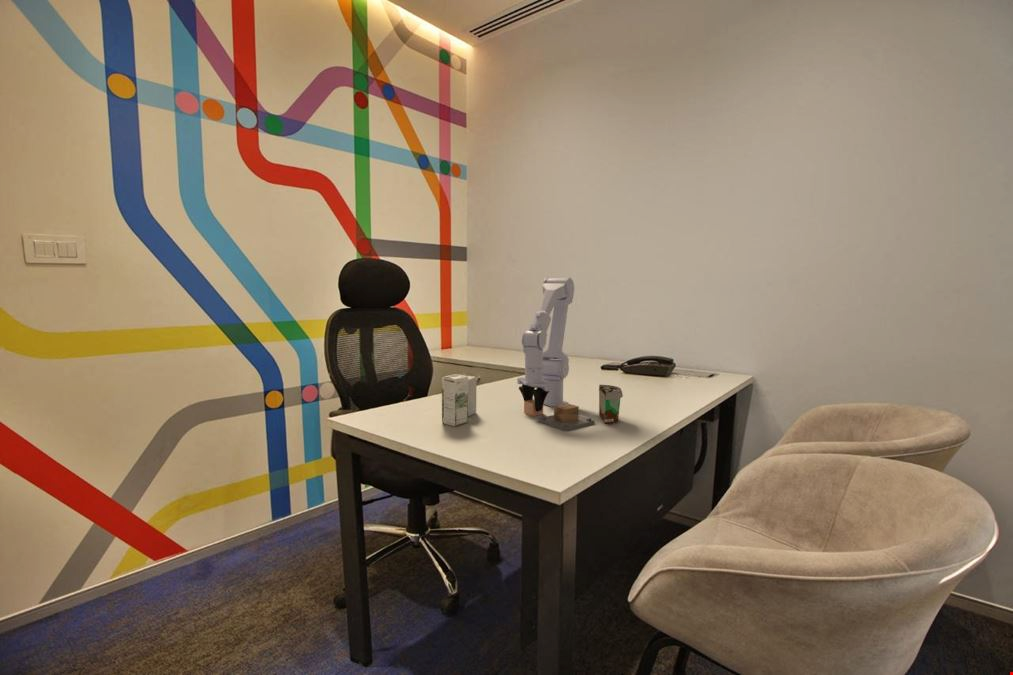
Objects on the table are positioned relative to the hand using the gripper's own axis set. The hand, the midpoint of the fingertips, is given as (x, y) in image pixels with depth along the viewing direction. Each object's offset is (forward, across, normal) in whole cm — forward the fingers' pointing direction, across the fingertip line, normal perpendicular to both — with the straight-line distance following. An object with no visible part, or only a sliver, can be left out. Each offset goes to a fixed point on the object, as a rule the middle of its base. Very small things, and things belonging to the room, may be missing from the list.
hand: (533, 409), depth 158 cm
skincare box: (+2, -12, -18) cm, 22 cm away
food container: (+2, +21, +14) cm, 25 cm away
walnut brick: (0, +14, +1) cm, 14 cm away
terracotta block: (+1, 0, 0) cm, 1 cm away
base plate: (+1, +14, +1) cm, 14 cm away
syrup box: (+2, -6, -26) cm, 27 cm away
